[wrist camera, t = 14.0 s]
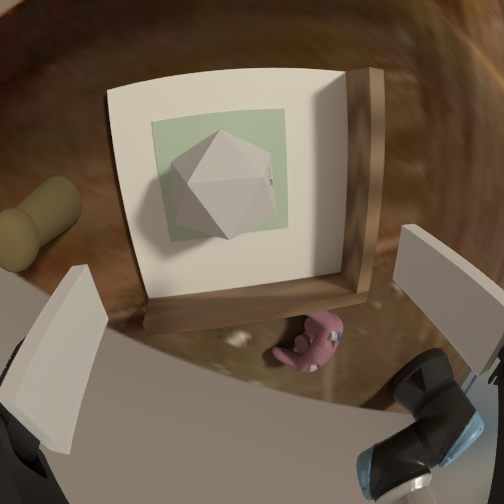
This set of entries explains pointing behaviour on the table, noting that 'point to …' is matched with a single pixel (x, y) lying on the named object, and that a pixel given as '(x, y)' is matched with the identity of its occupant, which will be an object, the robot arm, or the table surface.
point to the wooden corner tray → (285, 186)
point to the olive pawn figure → (37, 222)
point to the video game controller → (313, 343)
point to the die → (223, 186)
